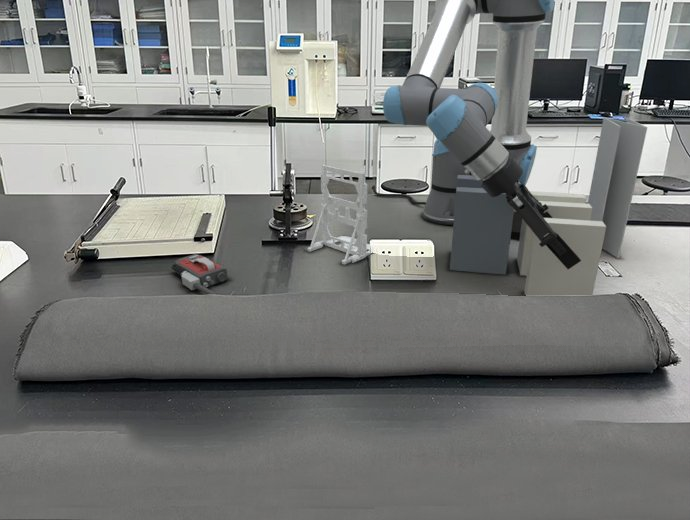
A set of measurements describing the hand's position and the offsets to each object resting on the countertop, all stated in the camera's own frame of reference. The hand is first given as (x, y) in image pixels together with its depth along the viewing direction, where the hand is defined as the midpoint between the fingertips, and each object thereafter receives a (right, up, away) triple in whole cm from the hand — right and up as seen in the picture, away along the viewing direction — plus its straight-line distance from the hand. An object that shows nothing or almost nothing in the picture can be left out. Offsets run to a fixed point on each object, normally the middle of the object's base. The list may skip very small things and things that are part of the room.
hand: (568, 251), depth 101 cm
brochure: (+20, +1, +30) cm, 36 cm away
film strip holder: (-42, +1, +28) cm, 51 cm away
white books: (+2, -4, +17) cm, 18 cm away
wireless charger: (+5, +7, +42) cm, 43 cm away
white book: (-1, -9, +4) cm, 10 cm away
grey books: (-12, -2, +20) cm, 24 cm away
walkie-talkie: (-72, -7, +11) cm, 73 cm away
